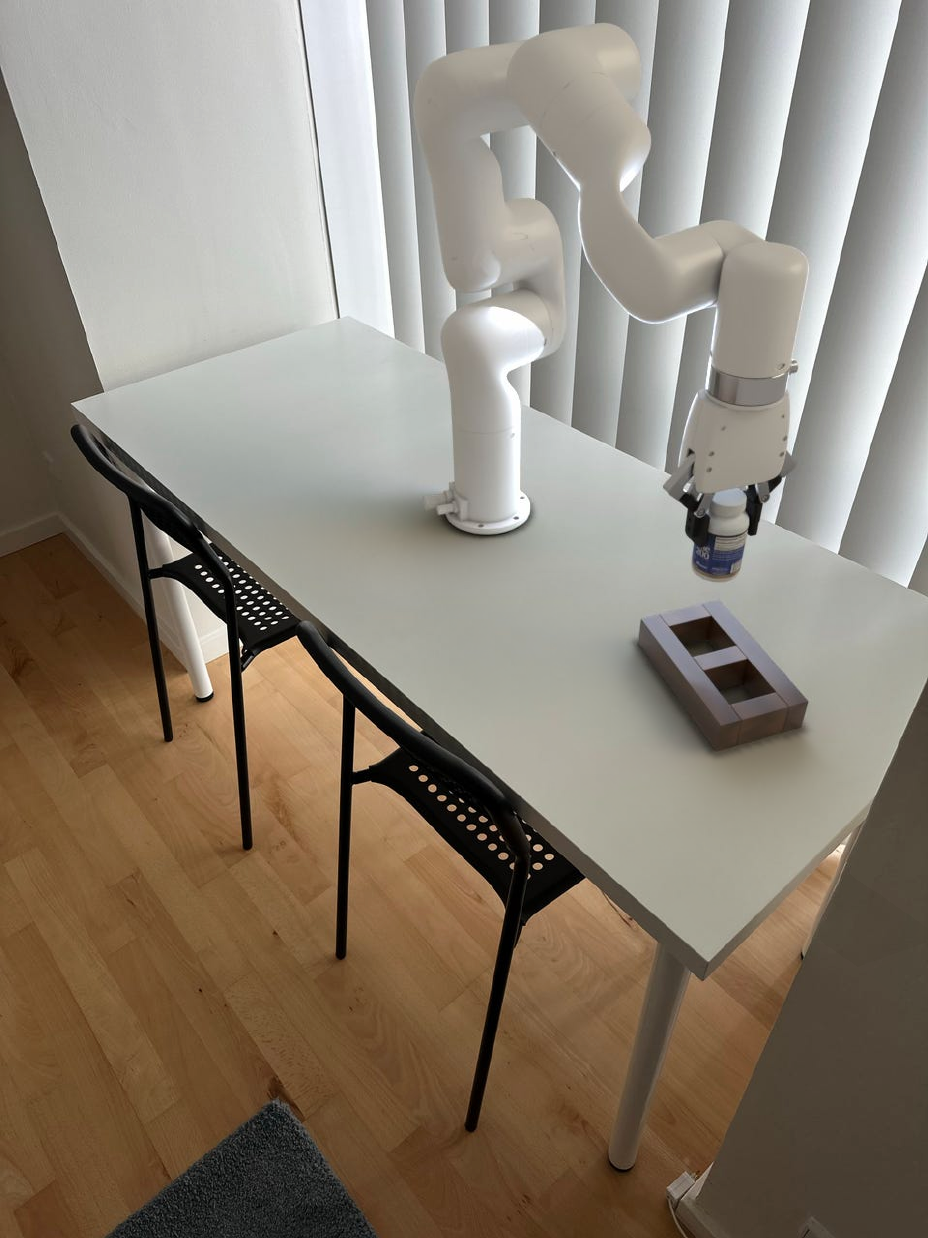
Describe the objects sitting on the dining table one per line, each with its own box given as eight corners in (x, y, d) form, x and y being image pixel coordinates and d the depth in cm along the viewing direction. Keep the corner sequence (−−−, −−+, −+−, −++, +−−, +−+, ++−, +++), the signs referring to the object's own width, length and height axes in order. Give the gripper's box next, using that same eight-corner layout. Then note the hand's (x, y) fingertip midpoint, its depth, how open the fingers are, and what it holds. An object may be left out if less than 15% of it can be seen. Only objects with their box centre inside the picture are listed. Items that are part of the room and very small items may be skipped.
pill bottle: (684, 557, 108) (695, 484, 102) (731, 553, 108) (744, 480, 102) (697, 586, 104) (709, 511, 98) (746, 582, 104) (760, 507, 98)
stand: (715, 751, 104) (721, 726, 101) (637, 643, 118) (640, 618, 115) (801, 727, 106) (809, 701, 103) (714, 623, 120) (719, 599, 117)
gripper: (801, 350, 96) (770, 502, 108) (648, 379, 92) (633, 533, 104) (846, 380, 91) (809, 537, 102) (686, 412, 87) (666, 571, 98)
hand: (720, 533), depth 103 cm, fingers closed on pill bottle, 5 cm apart
